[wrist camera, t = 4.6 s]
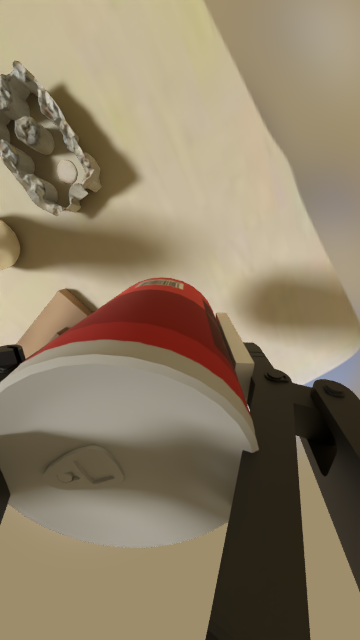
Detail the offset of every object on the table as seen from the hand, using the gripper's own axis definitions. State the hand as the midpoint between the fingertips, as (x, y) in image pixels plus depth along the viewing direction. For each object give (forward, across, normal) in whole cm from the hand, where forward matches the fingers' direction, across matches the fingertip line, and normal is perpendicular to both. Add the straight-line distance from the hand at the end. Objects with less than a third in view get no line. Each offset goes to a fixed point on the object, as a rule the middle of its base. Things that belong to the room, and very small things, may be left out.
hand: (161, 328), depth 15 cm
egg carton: (+12, -13, +14) cm, 23 cm away
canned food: (+1, 0, 0) cm, 1 cm away
